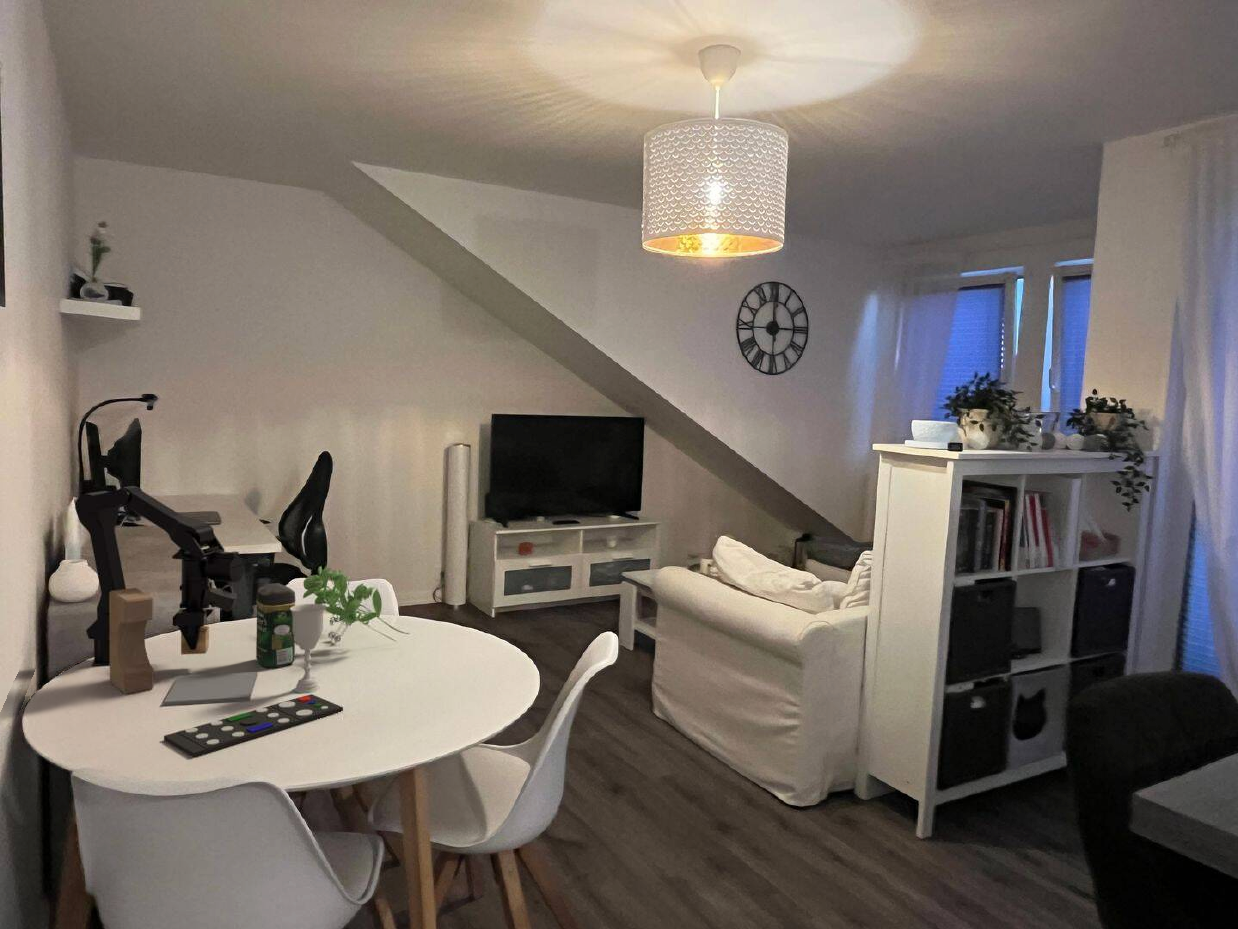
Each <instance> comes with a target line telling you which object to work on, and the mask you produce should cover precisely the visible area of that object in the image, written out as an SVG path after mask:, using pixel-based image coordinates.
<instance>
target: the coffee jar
mask: <svg viewBox="0 0 1238 929" xmlns="http://www.w3.org/2000/svg"><path fill="white" fill-rule="evenodd" d="M293 606H296V592H295V591H294V589H292V588H290V587H289V586H286V585H283V584H281V583H280V582H277V583H276V582H275V583H266V584H262V585H261V586H260V587H259V588H258V589H257V591H256V640H255V641H256V646H255V647H256V650H255V653H256V654H255V658H256V661H257V662H258V663H259V664H260V665H261V666H263V667H265V668H282V667H285V666H287V665H290V664H293V663H294V662H295V660H296V654H295V651H296V649H295V648H296V647H295V646H296V645H295V642H296V639H295V637H294V634H293V613H292V612H291V610H290V608H291V607H293Z"/></svg>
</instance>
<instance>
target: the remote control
mask: <svg viewBox="0 0 1238 929" xmlns="http://www.w3.org/2000/svg"><path fill="white" fill-rule="evenodd" d="M341 711H343V712H344V707H343V706H341V705H339V704H336V703H334V702H332V701H329V700H326V699H324V698H321V697H320V696H317V695H314V694H313V693H310V694H307V695H302V696H300V697H295V698H292V699H288V700H285V701H282V702H278V703H275V704H272V705H271V704H270V705H268V706H263V707H261V708H257V709H254V710H251V711H247V712H244V713H240V714H236V715H233V716H229V717H225V718H222V719H218V720H215V721H214V720H213V721H211V722H208V723H203V724H200V725H196V726H193V727H189V728H187V729H182V730H180V731H176V732H172V733H169V734H165V735H163V741H164V742H166V743H168V744H169V745H171V746H173V747H174V748H176V749H178V750H179V751H181V752H183V753H184V754H186V755H187V756H189V757H191V758H193V759H196V758H199V757H202V756H205V755H208V754H212V753H216V752H218V751H221V750H225V749H228V748H232V747H234V746H237V745H241V744H243V743H246V742H251V741H253V740H257V739H259V738H263V737H266V736H269V735H272V734H276V733H279V732H283V731H285V730H286V731H287V730H289V729H292V728H295V727H299V726H302V725H304V724H308V723H312V722H314V721H318V720H321V719H324V718H327V716H328V717H330V716H334V715H336V714H335V713H337V714H339V713H338V712H341ZM341 713H342V712H341ZM333 714H334V715H333ZM320 718H321V719H320ZM317 719H318V720H317Z"/></svg>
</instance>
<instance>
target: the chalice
mask: <svg viewBox="0 0 1238 929" xmlns="http://www.w3.org/2000/svg"><path fill="white" fill-rule="evenodd" d="M326 607H327V606H326V605H324V604H323V605H320V604H315V603H305V604H298V605H295V606H293V607H291V608H290V610H291V612H292V613H293V634H294V637H295V642H297V644H298V646H299V648H300V650H302V651H304V653H305V654H304V658H303V661H304V666H303V667H302V669H303V670H304V674H303V676H302V677H300V679H299V680H298V681H297V683H296V686H295V687H294V691H295V692H296V693H299V694H309V693H310V694H311V693H313V692H317V691H319V690H320V686H319V684H318V682H317V680H316V678H315V677H313V676H312V675H311V674H310V671H311V668H312V665H311V663H310V662H311V659H312V657H311V654H310V653H311V650H314V649H315V648H316V646H317V644H318V643H319V641H320V638H321V636H322V633H323V630H324V612H325V608H326Z"/></svg>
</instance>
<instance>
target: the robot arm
mask: <svg viewBox="0 0 1238 929" xmlns="http://www.w3.org/2000/svg"><path fill="white" fill-rule="evenodd" d="M124 507H126V508H127V509H129V510H131V511H132V512H134V513H136V514H138V515H139V516H141V517H142V518H144V519H146V520H147V521H149V522H150V523H152V524H153V525H155V526H156V527H159V528H160V529H161V530H163V531H164V532H165V533H167V535H168V536H169V538H170V541H171V542H172V543H174V544H175V545H176V546H177V547H179V550H178V551H177V552H176V553H174V554H173V555H172V559H173V560H181V561H180V562H181V565H180V566H181V571H180V572H181V578H180V580H181V584H180V585H179V591H180V594H181V597H180V598H181V599H180V600H181V601H180V603H179V610H178V611H177V612H175V613H174V615H173V616H172V626H173V627H177V628H178V629H179V631H180V634H181V633H182V635H183V636H184V638H185V640H186V642H187V644H188V646H189V648H190V650H195V649H196V646H197V641H198V636H199V631H200V627H202V626H205V625H206V623H207V622H208V619H207V618H208V617H209V616H210V615H212V613H213V611H214V608H216V609H222V610H223V611H225V612H230V611H231V610H232V608H233V606H234V603H235V602H236V599H237V598H238V595H237V593H236V592H234V587H233V586H232V585H228V584H226V585H224V586H223V587H222V588H220V587H218V588H217V587H213V582H215V581H216V582H225V583H226V582H228V583H238V582H239V581H241V580H242V578H243V577H244V576H243V575H244V573H245V564H244V560H243V559H242V558H241V557H240V553H239V552H240V551H235V550H234V551H225V550H226V549H225V548H224V547H223V545H222V543H221V542H220V540H219V539H218V537H217V535H216V534H215V532H214V528H213V526H212V525H210V524H209V523H207V522H204V521H202V520H200V519H198V518H193V517H189V516H185V515H182V514H180V513H179V512H177V511H175V510H174V509H172V508H170V507H168V506H167V505H166V504H164V503H162V502H161V501H159V500H157V499H156V498H154V497H153V496H151V495H150V494H147V493H146V492H145V491H143V489H141V487H138V486H136V485H135V486H134V485H132V486H131V485H130V486H124V487H120V488H119V489H116V490H115V489H114V490H112V491H108V490H107V491H106V490H103V491H97V492H96V491H95V492H89V493H84V494H81V495H80V496H78V498H77V499H76V500H75V502H74V509H75V512H76V514H77V517H78V520H79V523H80V524H81V525H82V526H83V527H84V528H85V530H86V531H88V533H89V537H90V542H91V548H92V552H93V558H94V563H95V566H96V572H97V578H98V583H99V588H100V592H101V595H100V598H99V600H98V603H97V606H96V618H97V619H96V620H94V622H92V624H91V625H90V626H88V627H87V629H86V630H85V632H86V635H87V637H88V639H89V640H93V661H92V662H91V666H102V665H103V666H104V665H107V666H109V665H110V614H109V593H110V592H111V591H114V590H123V589H127V588H126V583H125V578H124V577H125V576H124V572H123V567H122V563H121V562H122V561H121V557H120V556H121V555H120V551H119V546H118V541H117V536H116V529H115V528H116V524H117V522H118V519H119V516H120V510H119V508H124ZM206 547H207V548H206ZM212 581H213V582H212ZM210 606H211V608H213V609H211V608H210Z"/></svg>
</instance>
